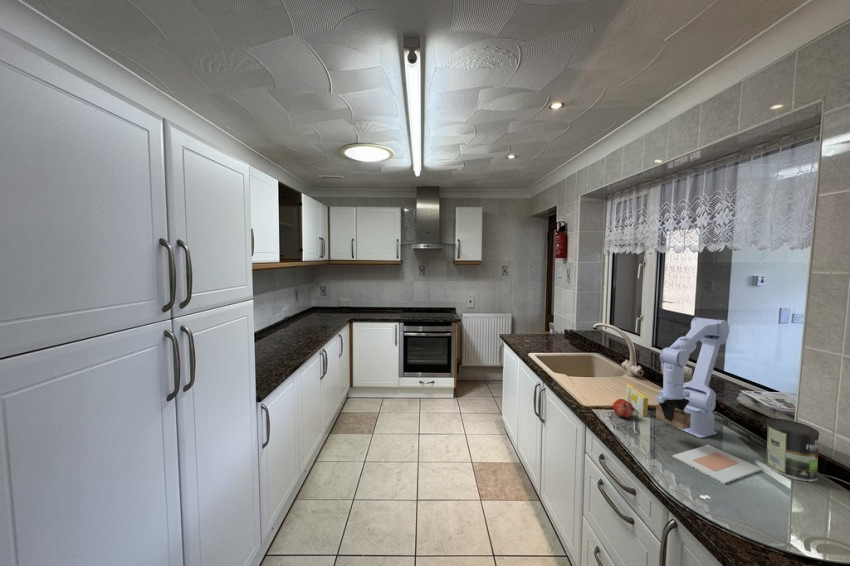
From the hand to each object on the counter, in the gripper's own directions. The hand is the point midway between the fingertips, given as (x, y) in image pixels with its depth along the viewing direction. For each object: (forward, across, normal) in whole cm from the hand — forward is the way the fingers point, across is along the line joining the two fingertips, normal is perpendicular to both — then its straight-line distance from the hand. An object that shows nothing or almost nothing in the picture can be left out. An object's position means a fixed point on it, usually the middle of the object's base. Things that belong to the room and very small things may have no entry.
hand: (672, 418), depth 112 cm
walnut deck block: (+2, 0, 0) cm, 2 cm away
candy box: (+9, -13, -24) cm, 28 cm away
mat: (+8, +1, +14) cm, 16 cm away
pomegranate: (+9, -1, -20) cm, 22 cm away
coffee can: (+9, -16, +24) cm, 30 cm away
